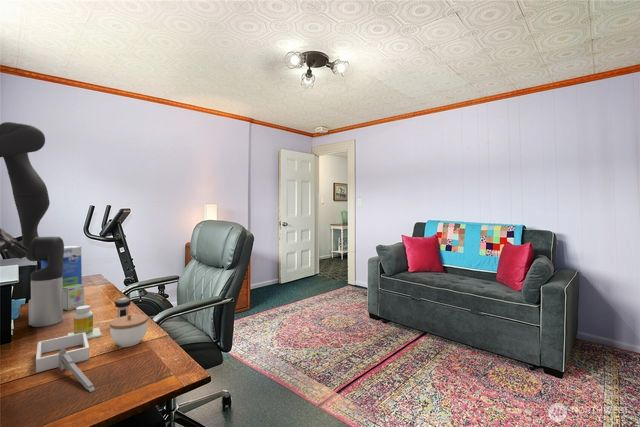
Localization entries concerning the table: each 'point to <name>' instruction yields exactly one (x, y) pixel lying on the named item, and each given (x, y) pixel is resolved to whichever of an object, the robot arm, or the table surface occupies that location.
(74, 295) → the ink box
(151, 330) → the table surface
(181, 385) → the table surface
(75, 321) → the supplement bottle
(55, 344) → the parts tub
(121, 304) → the push button
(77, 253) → the string lights box
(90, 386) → the caliper
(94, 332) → the rubber mat
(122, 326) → the lidded jar
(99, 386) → the table surface
